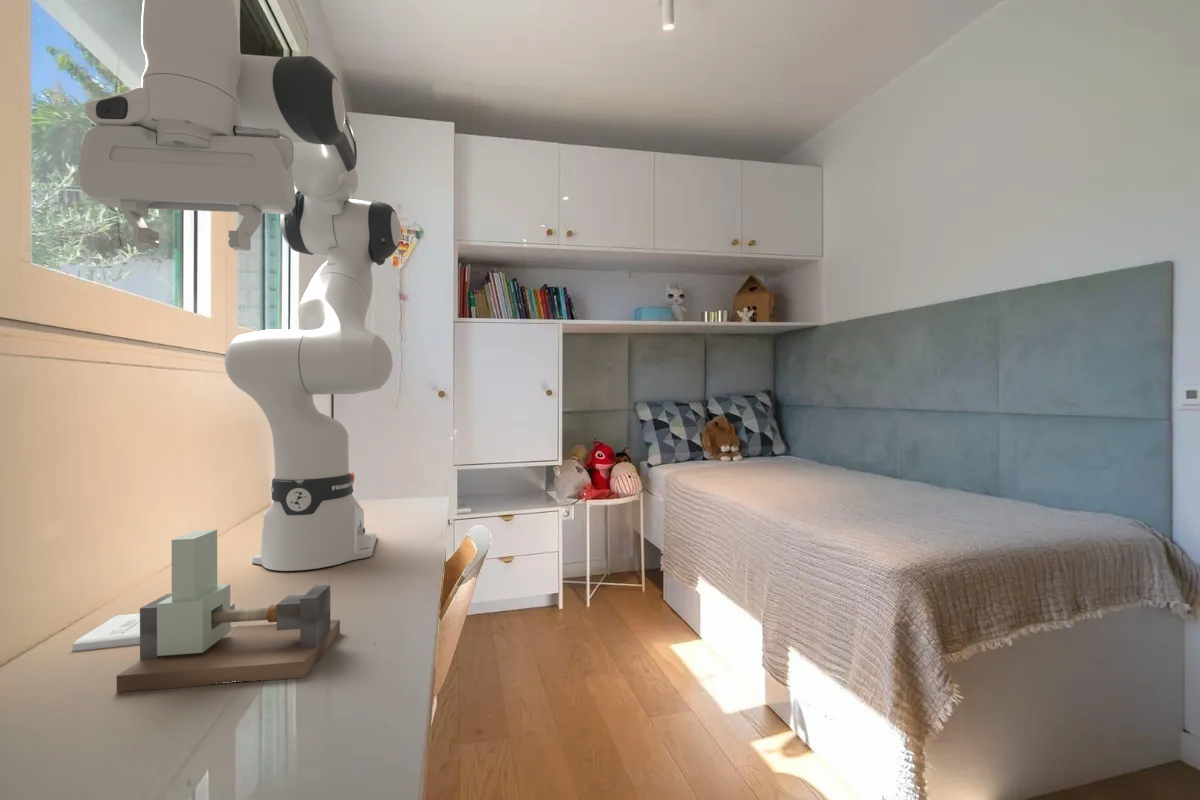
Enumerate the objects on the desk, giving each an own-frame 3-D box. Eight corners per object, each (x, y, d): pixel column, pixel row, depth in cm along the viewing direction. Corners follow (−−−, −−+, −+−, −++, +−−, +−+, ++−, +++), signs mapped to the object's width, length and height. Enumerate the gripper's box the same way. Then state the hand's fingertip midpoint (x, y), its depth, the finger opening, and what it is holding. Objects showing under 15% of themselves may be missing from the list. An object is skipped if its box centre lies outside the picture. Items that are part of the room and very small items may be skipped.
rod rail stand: (185, 643, 58) (185, 584, 58) (339, 632, 61) (339, 575, 61) (116, 692, 48) (116, 620, 48) (304, 677, 51) (303, 609, 51)
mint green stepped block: (189, 633, 56) (188, 529, 56) (230, 631, 57) (230, 527, 57) (157, 655, 51) (156, 541, 51) (202, 652, 52) (202, 539, 52)
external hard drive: (206, 642, 60) (71, 656, 57) (235, 614, 68) (117, 626, 65) (206, 627, 60) (71, 641, 57) (235, 602, 68) (118, 612, 65)
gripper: (304, 143, 64) (305, 258, 64) (113, 133, 61) (113, 253, 61) (281, 115, 58) (281, 242, 57) (67, 101, 55) (66, 235, 54)
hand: (193, 247), depth 59 cm, fingers open, 8 cm apart
